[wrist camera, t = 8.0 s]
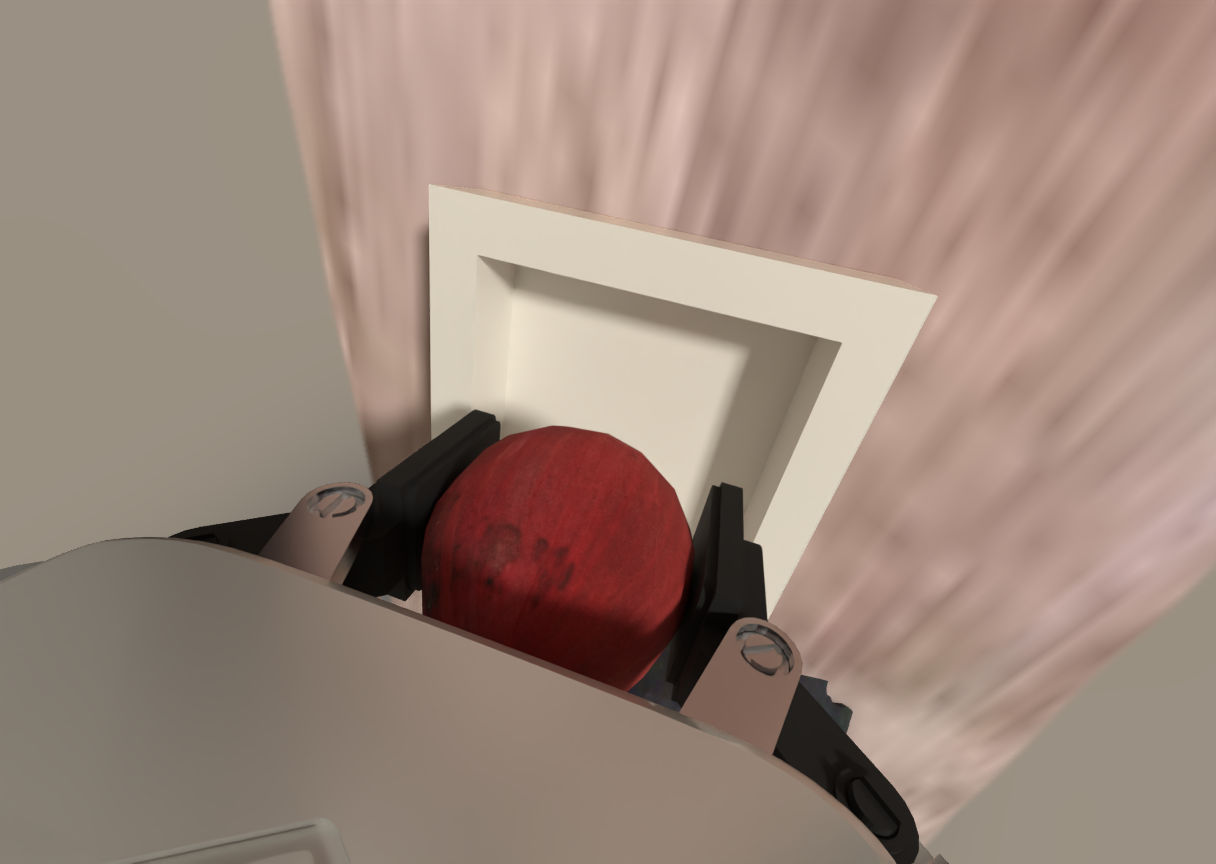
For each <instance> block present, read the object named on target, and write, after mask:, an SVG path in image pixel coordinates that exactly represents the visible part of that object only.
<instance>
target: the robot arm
mask: <svg viewBox="0 0 1216 864" xmlns="http://www.w3.org/2000/svg"><path fill="white" fill-rule="evenodd" d="M500 429H501V424H500V422H499V421H496V417H495V415H494V414H490V413H487V412H483V411H480V410H476V409H475V410H473V411H471V412H470V413H469V414H467V415H466V416H464V417H463V418H462V419H460V420H459V421H458V422H456V423H455V424H454V425H452V426H451V427H449V428H448V429H447V430H445V431H444V432H443V433H441V434H440V435H438V436H437V437H436V438H434V439H433V440H432V441H430V442H429V443H428V444H426V445H425V446H423V447H422V448H421V449H419V450H418V451H417V452H415V453H414V454H412V455H411V456H410V457H408V458H407V459H406V460H404V461H403V462H402V463H400V464H399V465H397V466H396V467H395V468H393V469H392V470H391V471H389V472H388V473H386V474H385V475H384V476H382V477H381V478H380V479H378V480H377V482H376V483H375V484H374V485H372V486H371V487H370V488H366V487H364V486H362V485H360V484H356V483H350V482H348V483H347V482H344V483H342V482H341V483H333V484H327V485H324V486H321V487H318V488H316V489H314V490H312V491H310V492H309V493H307V494H306V495H305V496H304V497H303V498H302V499H301V500H300V502H299V503H298V504H297V505H296V507H295V508H294V509H293V511H292V512H291V513H285V514H279V515H272V516H266V517H259V518H253V519H247V520H241V521H235V522H228V523H222V524H216V525H210V526H203V527H198V528H194V529H189V530H185V531H183V532H180V533H178V534H175V535H172V536H170V537H168V538H163V537H159V538H158V537H139V538H138V537H137V538H122V539H113V540H105V541H101V542H96V543H92V544H88V545H85V546H83V547H80V548H76V549H74V550H71V551H68V552H66V553H63V554H60V555H58V556H56V557H53V558H51V559H48V560H46V561H42V562H36V563H29V564H23V565H17V566H12V567H8V568H4V569H0V864H949V863H948V862H947V861H946V860H945V859H944V858H943V857H942V856H941V855H940V854H939V855H937V856H936V857H935V858H934V857H933V856H932V855H931V854H930V853H929V852H928V851H927V849H926V848H925V847H924V846H923V845H922V844H921V843H920V841H919V835H918V831H917V828H916V824H915V821H914V818H913V816H912V814H911V812H910V810H909V809H908V807H907V805H906V803H905V801H904V800H903V799H902V797H901V796H900V795H899V793H898V792H897V791H896V789H895V788H894V787H893V786H892V784H891V783H890V782H889V781H888V780H887V779H886V778H885V777H884V776H883V774H882V773H881V772H880V771H879V770H878V769H877V768H876V767H875V765H874V764H873V763H872V762H871V761H870V760H869V759H868V758H867V757H866V755H865V754H864V753H863V752H862V751H861V750H860V749H859V748H858V746H857V745H856V744H855V743H854V742H853V741H852V740H851V739H850V738H849V736H848V735H847V734H846V733H845V732H844V731H843V730H842V729H841V728H840V726H839V725H838V724H837V723H836V722H835V721H834V720H833V719H832V717H831V716H830V715H829V714H828V713H827V712H826V711H825V710H824V709H823V707H822V706H821V705H820V704H819V703H818V702H817V701H816V700H815V698H814V697H813V696H812V695H811V694H810V693H809V692H808V691H807V690H806V688H805V687H804V686H803V685H802V684H801V683H800V682H799V679H800V676H801V673H802V665H803V663H802V659H801V655H800V652H799V651H798V649H797V647H796V645H795V643H794V642H793V641H792V640H791V639H790V638H789V637H788V635H787V634H786V633H785V632H783V631H782V630H781V629H779V628H778V627H777V626H775V625H773V624H771V623H769V622H768V618H767V605H766V591H765V578H764V564H763V551H762V546H761V545H759V544H756V543H753V542H750V541H747V540H744V520H743V488H741V487H737V486H734V485H730V484H727V483H724V482H721V484H720V486H719V487H718V486H715V485H712V487H711V489H710V492H709V495H708V497H707V500H706V503H705V506H704V509H703V511H702V514H701V517H700V520H699V523H698V525H697V528H696V531H695V534H694V536H693V544H694V549H695V556H694V564H693V573H692V582H691V589H690V594H689V598H688V603H687V608H686V612H685V616H684V619H683V623H682V624H681V626H680V627H679V629H678V630H677V632H676V633H675V635H674V636H673V638H672V639H671V646H670V652H669V658H668V665H667V671H666V678H665V681H666V682H668V683H671V684H673V689H672V696H671V700H672V701H674V702H677V703H678V704H679V706H680V707H681V710H680V712H679V713H678V712H676V711H673V710H671V709H668V708H666V707H663V706H661V705H658V704H656V703H653V702H651V701H648V700H646V699H643V698H641V697H638V696H636V695H633V694H630V693H628V692H625V691H623V690H620V689H617V688H615V687H612V686H610V685H607V684H604V683H602V682H599V681H596V680H594V679H591V678H589V677H586V676H583V675H581V674H578V673H575V672H573V671H570V670H568V669H565V668H562V667H560V666H557V665H555V664H552V663H549V662H547V661H544V660H541V659H539V658H536V657H534V656H531V655H528V654H526V653H523V652H520V651H518V650H515V649H512V648H510V647H507V646H504V645H502V644H499V643H496V642H494V641H491V640H488V639H486V638H483V637H480V636H478V635H475V634H472V633H470V632H467V631H464V630H462V629H459V628H456V627H454V626H451V625H448V624H446V623H443V622H440V621H438V620H435V619H432V618H430V617H427V616H424V615H422V614H419V613H416V612H414V611H411V610H408V609H406V608H403V607H400V606H397V605H395V604H392V603H389V602H387V601H384V600H381V599H380V598H381V596H384V595H390V596H393V597H395V598H398V599H401V600H403V601H406V600H407V599H408V598H409V597H410V595H411V594H412V593H413V592H414V591H415V590H418V591H420V590H422V564H421V556H422V549H423V543H424V537H425V530H426V527H427V525H428V522H429V520H430V518H431V515H432V513H433V510H434V508H435V506H436V503H437V502H438V500H439V499H440V498H441V497H442V495H443V494H444V493H445V491H446V490H447V489H448V488H449V486H450V485H451V484H452V483H453V481H454V480H455V479H456V478H457V477H458V476H459V475H460V474H461V473H462V472H463V471H464V470H465V469H466V468H467V467H468V466H469V465H470V464H471V463H472V462H473V461H474V460H475V459H476V458H477V457H478V456H479V455H480V454H481V453H482V452H483V451H484V450H485V449H486V448H488V447H490V446H491V445H493V444H494V443H496V442H498V441H499V440H500Z"/></svg>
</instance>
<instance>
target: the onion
mask: <svg viewBox="0 0 1216 864" xmlns="http://www.w3.org/2000/svg"><path fill="white" fill-rule="evenodd" d="M694 556H695V549H694V544H693V539H692V535H691V530H690V527H689V524H688V522H687V519H686V517H685V514H684V512H683V509H682V506H681V504H680V501H679V499H678V496H677V494H676V491H675V489H674V488H673V487H672V486H671V484H670V483H669V482H668V481H667V480H666V479H665V478H664V477H663V475H662V474H661V473H660V472H659V471H658V470H657V469H656V468H655V466H654V465H653V464H652V463H651V462H650V461H649V460H648V459H647V458H646V456H645V455H644V454H643V453H642V452H640V451H639V450H637V449H635V448H633V447H631V446H630V445H628V444H626V443H624V442H622V441H621V440H619V439H617V438H615V437H614V436H612V435H610V434H608V433H602V432H597V431H591V430H586V429H580V428H575V427H569V426H555V425H552V426H547V427H543V428H538V429H534V430H529V431H525V432H520V433H516V434H511V435H508V436H506V437H504V438H503V439H501V440H499V441H498V442H496V443H494V444H493V445H491V446H490V447H488V448H486V449H485V450H484V451H483V452H482V453H481V454H480V455H479V456H478V457H477V458H476V459H475V460H474V461H473V462H472V463H471V464H470V465H469V466H468V467H467V468H466V469H465V470H464V471H463V472H462V473H461V474H460V475H459V476H458V477H457V478H456V479H455V480H454V481H453V483H452V484H451V485H450V486H449V488H448V489H447V490H446V491H445V493H444V494H443V495H442V497H441V498H440V499H439V500H438V502H437V503H436V506H435V508H434V510H433V513H432V515H431V518H430V520H429V522H428V525H427V527H426V530H425V537H424V543H423V549H422V556H421V564H422V611H423V615H424V616H427V617H430V618H432V619H435V620H438V621H440V622H443V623H446V624H448V625H451V626H454V627H456V628H459V629H462V630H464V631H467V632H470V633H472V634H475V635H478V636H480V637H483V638H486V639H488V640H491V641H494V642H496V643H499V644H502V645H504V646H507V647H510V648H512V649H515V650H518V651H520V652H523V653H526V654H528V655H531V656H534V657H536V658H539V659H541V660H544V661H547V662H549V663H552V664H555V665H557V666H560V667H562V668H565V669H568V670H570V671H573V672H575V673H578V674H581V675H583V676H586V677H589V678H591V679H594V680H596V681H599V682H602V683H604V684H607V685H610V686H612V687H615V688H617V689H620V690H623V691H625V692H627V691H628V690H629V689H631V688H632V687H633V686H634V685H635V684H636V683H637V682H638V681H640V680H641V679H642V678H643V677H644V676H645V674H646V673H647V672H648V670H649V669H650V668H651V666H652V665H653V664H654V663H655V661H656V660H657V659H658V657H659V656H660V655H661V653H662V652H663V651H664V649H665V648H666V647H667V645H668V644H669V642H670V641H671V639H672V638H673V636H674V635H675V633H676V632H677V630H678V629H679V627H680V626H681V624H682V623H683V619H684V616H685V612H686V608H687V603H688V598H689V594H690V589H691V582H692V573H693V564H694Z"/></svg>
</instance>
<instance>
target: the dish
mask: <svg viewBox="0 0 1216 864" xmlns="http://www.w3.org/2000/svg"><path fill="white" fill-rule="evenodd" d="M429 257H430V359H431V441H432V440H433V439H434V438H436V437H437V436H438V435H440V434H441V433H443V432H444V431H445V430H447V429H448V428H449V427H451V426H452V425H454V424H455V423H456V422H458V421H459V420H460V419H462V418H463V417H464V416H466V415H467V414H469V413H470V412H471V411H473V410H475V409H476V410H480V411H483V412H487V413H490V414H494V415H495V417H496V421H499V422H500V424H501V429H500V440H501V439H503V438H504V437H506V436H508V435H511V434H516V433H520V432H525V431H529V430H534V429H538V428H543V427H547V426H552V425H555V426H569V427H575V428H580V429H586V430H591V431H597V432H602V433H608V434H610V435H612V436H614V437H615V438H617V439H619V440H621V441H622V442H624V443H626V444H628V445H630V446H631V447H633V448H635V449H637V450H639V451H640V452H642V453H643V454H644V455H645V456H646V458H647V459H648V460H649V461H650V462H651V463H652V464H653V465H654V466H655V468H656V469H657V470H658V471H659V472H660V473H661V474H662V475H663V477H664V478H665V479H666V480H667V481H668V482H669V483H670V484H671V486H672V487H673V488H674V489H675V491H676V494H677V496H678V499H679V501H680V504H681V506H682V509H683V512H684V514H685V517H686V519H687V522H688V524H689V527H690V530H691V535H692V539H693V536H694V534H695V531H696V528H697V525H698V523H699V520H700V517H701V514H702V511H703V509H704V506H705V503H706V500H707V497H708V495H709V492H710V489H711V487H712V485H715V486H718V487H719V486H720V484H721V482H724V483H727V484H730V485H734V486H737V487H741V488H743V520H744V540H747V541H750V542H753V543H756V544H759V545H761V546H762V551H763V564H764V578H765V591H766V605H767V618H768V619H769V617H770V615H771V613H772V611H773V609H774V607H775V605H776V603H777V602H778V600H779V598H780V596H781V594H782V592H783V590H784V588H785V586H786V584H787V582H788V581H789V579H790V577H791V575H792V573H793V571H794V569H795V567H796V565H797V563H798V562H799V560H800V558H801V556H802V554H803V552H804V550H805V548H806V546H807V544H808V542H809V541H810V539H811V537H812V535H813V533H814V531H815V529H816V527H817V525H818V523H819V522H820V520H821V518H822V516H823V514H824V512H825V510H826V508H827V506H828V504H829V503H830V501H831V499H832V497H833V495H834V493H835V491H836V489H837V487H838V485H839V483H840V482H841V480H842V478H843V476H844V474H845V472H846V470H847V468H848V466H849V464H850V463H851V461H852V459H853V457H854V455H855V453H856V451H857V449H858V447H859V445H860V443H861V442H862V440H863V438H864V436H865V434H866V432H867V430H868V428H869V426H870V424H871V423H872V421H873V419H874V417H875V415H876V413H877V411H878V409H879V407H880V405H881V403H882V402H883V400H884V398H885V396H886V394H887V392H888V390H889V388H890V386H891V384H892V383H893V381H894V379H895V377H896V375H897V373H898V371H899V369H900V367H901V365H902V363H903V362H904V360H905V358H906V356H907V354H908V352H909V350H910V348H911V346H912V344H913V343H914V341H915V339H916V337H917V335H918V333H919V331H920V329H921V327H922V325H923V324H924V322H925V320H926V318H927V316H928V314H929V312H930V310H931V308H932V306H933V304H934V303H935V301H936V299H937V297H938V296H937V295H935V294H932V293H930V292H927V291H925V290H922V289H920V288H917V287H915V286H912V285H910V284H908V283H905V282H903V281H900V280H898V279H895V278H891V277H886V276H882V275H877V274H873V273H868V272H863V271H859V270H854V269H849V268H845V267H840V266H836V265H831V264H826V263H822V262H817V261H813V260H808V259H803V258H799V257H794V256H790V255H785V254H780V253H776V252H771V251H767V250H762V249H757V248H753V247H748V246H744V245H739V244H734V243H730V242H725V241H720V240H716V239H711V238H707V237H702V236H697V235H693V234H688V233H684V232H679V231H674V230H670V229H665V228H661V227H656V226H651V225H647V224H642V223H638V222H633V221H628V220H624V219H619V218H615V217H610V216H605V215H601V214H596V213H591V212H587V211H582V210H578V209H573V208H568V207H564V206H559V205H555V204H550V203H545V202H541V201H536V200H532V199H527V198H522V197H518V196H513V195H509V194H504V193H499V192H495V191H490V190H484V189H474V188H463V187H453V186H443V185H433V184H429Z"/></svg>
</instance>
